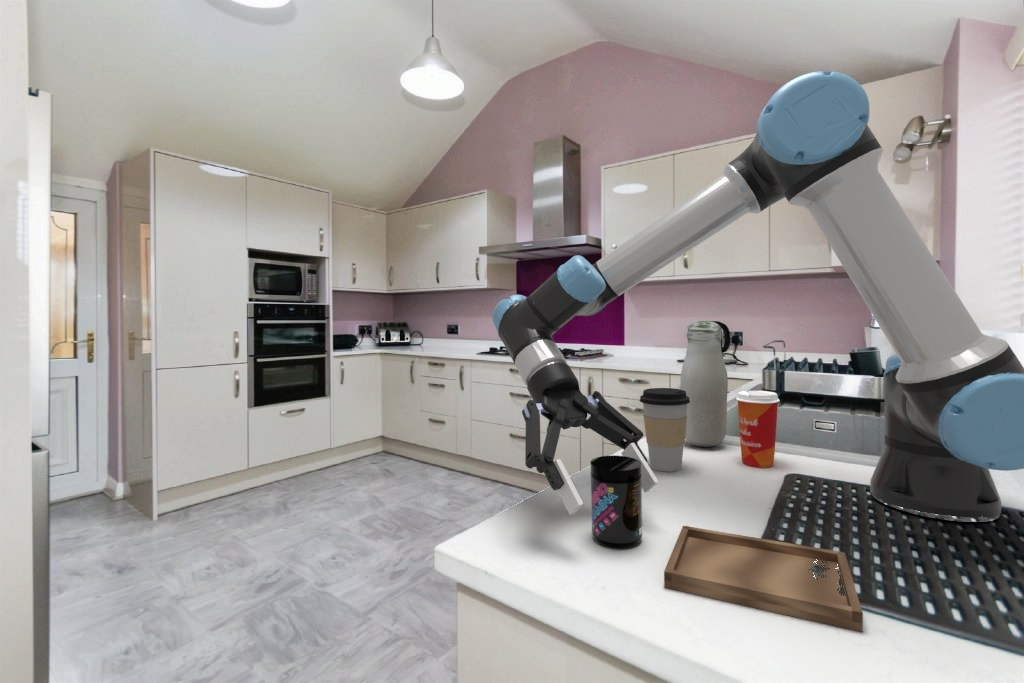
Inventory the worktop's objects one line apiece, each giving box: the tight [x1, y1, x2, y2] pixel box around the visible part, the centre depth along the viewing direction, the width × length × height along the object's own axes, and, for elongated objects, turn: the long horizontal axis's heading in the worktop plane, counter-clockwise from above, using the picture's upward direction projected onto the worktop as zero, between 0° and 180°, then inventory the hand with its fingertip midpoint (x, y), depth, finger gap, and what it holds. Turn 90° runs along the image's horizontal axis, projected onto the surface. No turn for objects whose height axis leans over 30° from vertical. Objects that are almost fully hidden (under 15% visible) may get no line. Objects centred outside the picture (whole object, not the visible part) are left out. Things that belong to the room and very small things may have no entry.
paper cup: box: [735, 390, 780, 469], centre depth 97 cm, size 8×8×14 cm
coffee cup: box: [639, 387, 690, 473], centre depth 96 cm, size 9×9×15 cm
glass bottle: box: [680, 320, 729, 448], centre depth 110 cm, size 10×10×28 cm
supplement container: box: [589, 455, 643, 549], centre depth 66 cm, size 7×7×10 cm
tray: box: [663, 525, 864, 633], centre depth 56 cm, size 18×13×2 cm
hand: (616, 498), depth 66 cm, fingers open, 13 cm apart
